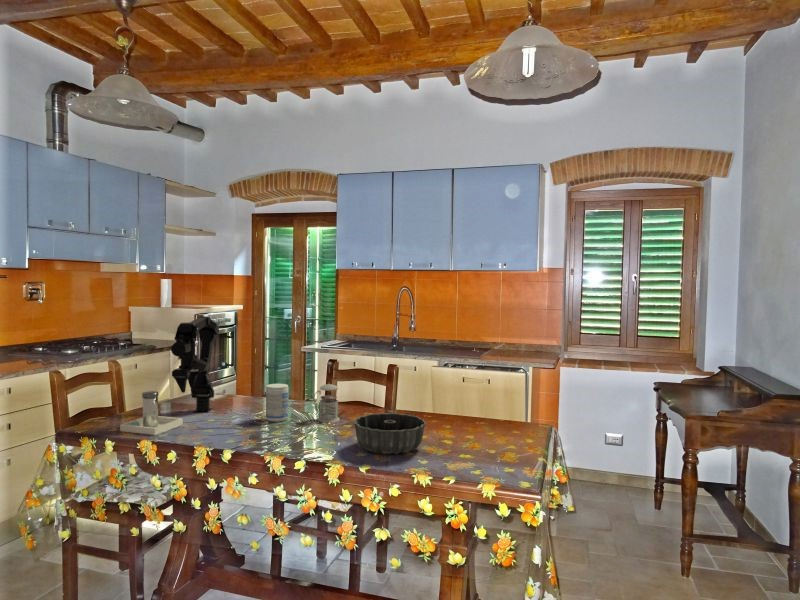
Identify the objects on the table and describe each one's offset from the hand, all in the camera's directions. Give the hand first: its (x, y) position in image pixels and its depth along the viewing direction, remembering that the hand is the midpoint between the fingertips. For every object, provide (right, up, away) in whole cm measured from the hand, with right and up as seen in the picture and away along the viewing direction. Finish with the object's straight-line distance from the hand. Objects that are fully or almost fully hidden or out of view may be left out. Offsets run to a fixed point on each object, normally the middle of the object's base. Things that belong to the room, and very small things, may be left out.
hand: (187, 390), depth 233 cm
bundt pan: (+85, -17, -30) cm, 91 cm away
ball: (-15, -13, -15) cm, 25 cm away
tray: (-9, -13, -12) cm, 20 cm away
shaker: (-9, -13, -13) cm, 21 cm away
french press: (+57, -14, +8) cm, 59 cm away
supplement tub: (+36, -14, +7) cm, 39 cm away
